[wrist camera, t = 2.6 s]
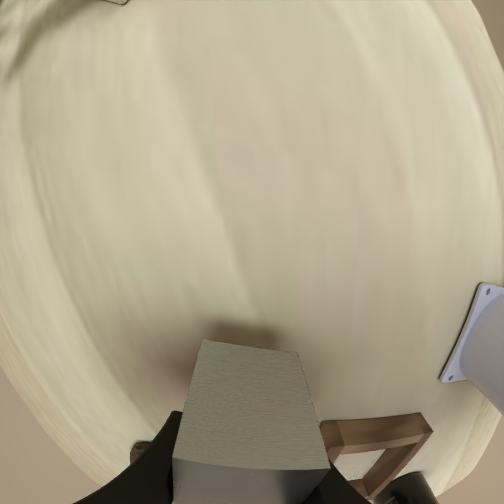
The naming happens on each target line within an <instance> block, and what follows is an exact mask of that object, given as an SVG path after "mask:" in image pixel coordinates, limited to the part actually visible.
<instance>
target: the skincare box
mask: <svg viewBox="0 0 504 504" xmlns="http://www.w3.org/2000/svg"><path fill="white" fill-rule="evenodd" d="M107 1H111V2H115V3H119V4H124V3H125V2H126V1H127V0H107Z"/></svg>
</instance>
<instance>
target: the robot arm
mask: <svg viewBox="0 0 504 504" xmlns="http://www.w3.org/2000/svg"><path fill="white" fill-rule="evenodd" d="M468 379H469V380H470V381H471V382H472V383H473V384H474V385H475V386H476V387H477V388H478V389H479V390H480V391H481V392H482V393H483V394H484V395H485V396H486V397H487V399H488V400H489V401H490V402H491V403H492V404H493V405H494V406H495V407H496V408H497V409H498V410H499V411H500V412H501V414H502V415H503V416H504V287H502V286H497V285H493V284H488V283H481V284H480V285H479V287H478V290H477V293H476V296H475V299H474V302H473V304H472V307H471V310H470V313H469V315H468V318H467V320H466V323H465V325H464V328H463V330H462V333H461V335H460V337H459V339H458V342H457V344H456V346H455V348H454V350H453V353H452V355H451V357H450V359H449V361H448V363H447V365H446V367H445V369H444V371H443V373H442V374H441V376H440V381H441V382H442V383H449V382H456V381H462V380H468ZM182 415H183V412H179V411H172V412H171V414H170V416H169V418H168V419H167V421H166V423H165V424H164V426H163V427H162V429H161V430H160V432H159V433H158V434H157V436H156V437H155V438H154V439H153V441H152V442H151V443H150V444H149V446H148V447H147V448H146V449H145V450H144V451H143V452H142V453H141V454H140V456H139V457H138V458H137V459H136V460H135V461H134V462H133V463H132V464H131V465H130V466H129V467H127V468H126V469H125V470H124V471H123V472H122V473H121V474H119V475H118V476H117V477H116V478H114V479H113V480H112V481H110V482H109V483H108V484H106V485H105V486H103V487H102V488H100V489H99V490H97V491H96V492H94V493H92V494H90V495H88V496H87V497H85V498H83V499H81V500H79V501H77V502H75V503H73V504H172V502H173V499H174V491H173V467H172V456H173V452H174V448H175V443H176V439H177V435H178V431H179V427H180V423H181V419H182ZM328 460H329V464H330V467H331V469H330V470H329V471H328V473H327V474H326V475H325V476H324V478H323V479H322V480H321V482H320V483H319V484H318V485H317V487H316V488H315V489H314V490H313V491H312V493H311V494H310V495H309V496H308V497H307V499H306V500H305V501H304V502H303V503H302V504H372V503H370V502H369V501H368V500H367V499H365V498H364V497H363V496H362V495H361V494H360V493H359V492H358V491H357V490H355V489H354V488H353V487H352V486H351V484H350V483H349V482H348V481H347V480H346V479H345V478H344V477H343V476H342V474H341V473H340V472H339V471H338V470H337V468H336V467H335V466H334V464H333V463H332V462H331V461H330V459H329V458H328Z"/></svg>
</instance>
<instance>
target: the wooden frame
mask: <svg viewBox="0 0 504 504" xmlns="http://www.w3.org/2000/svg"><path fill="white" fill-rule="evenodd" d="M320 432H321V435H322V439H323V442H324V446H325V449H326V453H327V456H328V458H329V459H330V461H331V462H332V463H334V462H335V460H336V459H337V457H338V456H339V454H350V453H359V452H367V451H375V450H381V449H387V448H388V449H387V450H386V451H385V452H384V454H383V455H382V456H381V457H380V459H379V460H378V461H377V462H376V464H375V465H374V466H373V467H372V468H371V469H370V471H369V472H368V473H367V474H366V475H365V476H364V477H363V479H359V480H353V481H348V482H349V483H350V484H351V486H352V487H353V488H354V489H355V490H357V491H358V492H359V493H360V494H361V495H362V496H363V497H364V498H365V499H367V500H371V499H373V498H374V497H375V496H376V495H377V494H378V493H380V492H381V491H382V490H383V489H384V488H385V487H386V486H387V485H388V484H389V483H390V482H391V481H392V480H393V479H394V478H395V477H396V475H397V474H398V473H399V472H400V471H401V470H402V469H403V468H404V467H405V466H406V465H407V463H408V462H409V461H410V460H411V459H412V458H413V457H414V455H415V454H416V453H417V452H418V451H419V449H420V448H421V447H422V446H423V444H424V443H425V442H426V441H427V439H428V438H429V437H430V435H431V434H432V433H433V430H432V429H431V427H430V426H429V424H428V423H427V421H426V420H425V418H424V417H423V416H422V414H421V413H415V414H408V415H401V416H393V417H385V418H374V419H362V420H343V421H323V422H322V424H321V426H320Z"/></svg>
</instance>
